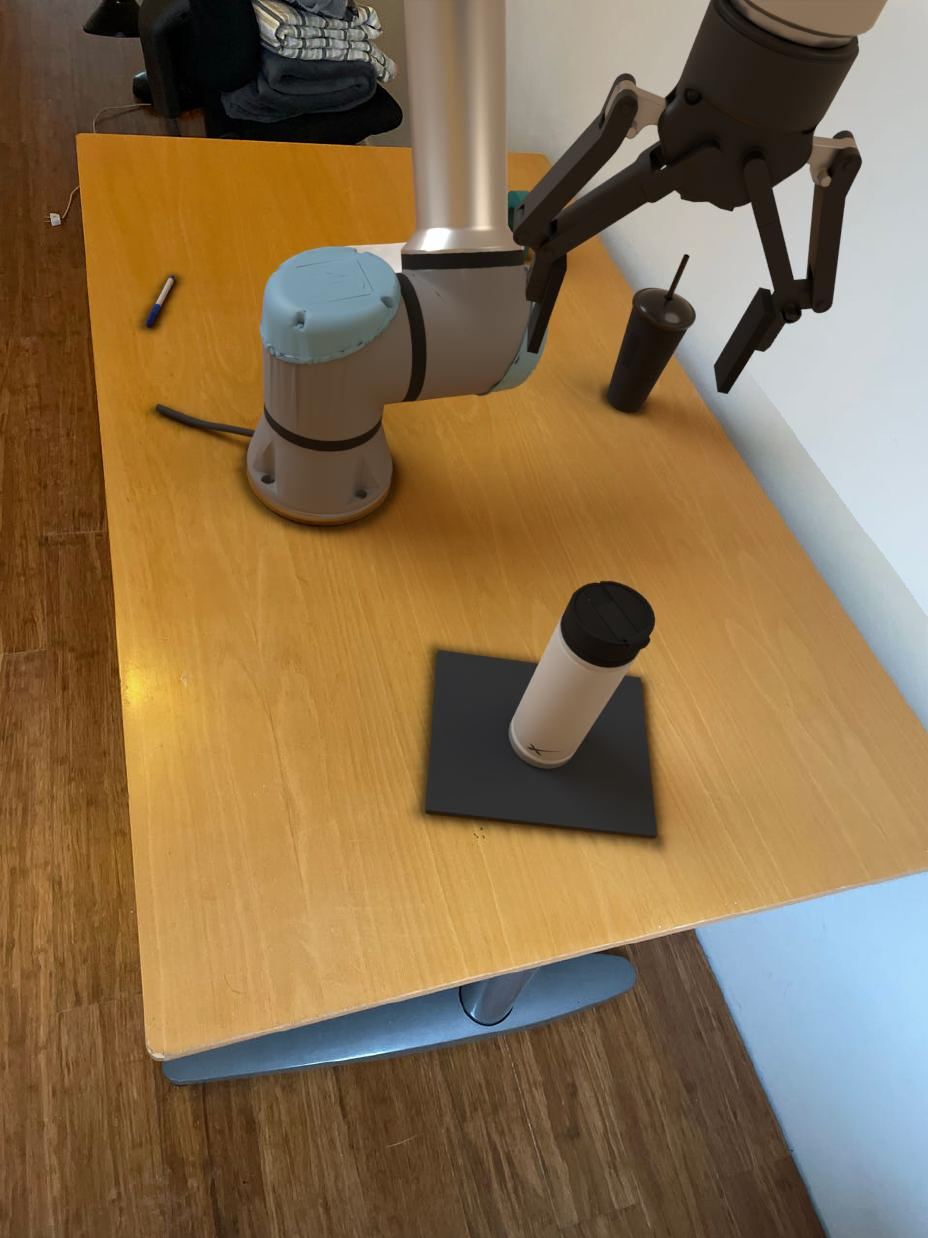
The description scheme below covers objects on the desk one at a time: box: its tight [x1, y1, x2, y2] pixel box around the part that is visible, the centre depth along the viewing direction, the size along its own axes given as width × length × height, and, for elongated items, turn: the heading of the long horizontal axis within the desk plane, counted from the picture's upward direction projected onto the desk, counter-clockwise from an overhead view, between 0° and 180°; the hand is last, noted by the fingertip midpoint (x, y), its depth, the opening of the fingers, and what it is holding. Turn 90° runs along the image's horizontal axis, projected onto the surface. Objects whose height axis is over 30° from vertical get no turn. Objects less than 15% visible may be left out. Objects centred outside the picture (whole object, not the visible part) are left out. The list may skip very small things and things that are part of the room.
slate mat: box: [424, 649, 658, 839], centre depth 73 cm, size 20×16×1 cm
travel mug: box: [509, 580, 656, 769], centre depth 65 cm, size 6×7×20 cm
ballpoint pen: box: [145, 275, 175, 328], centre depth 99 cm, size 10×1×1 cm, turn 178°
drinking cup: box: [606, 253, 697, 413], centre depth 97 cm, size 8×8×20 cm
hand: (627, 360), depth 56 cm, fingers open, 13 cm apart
